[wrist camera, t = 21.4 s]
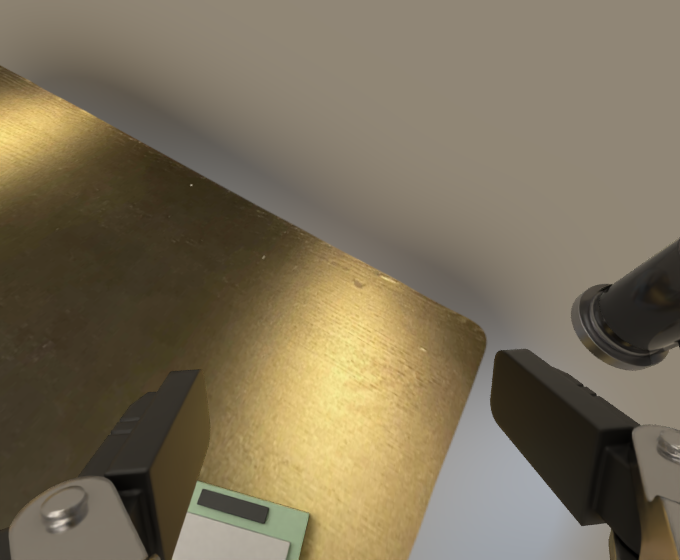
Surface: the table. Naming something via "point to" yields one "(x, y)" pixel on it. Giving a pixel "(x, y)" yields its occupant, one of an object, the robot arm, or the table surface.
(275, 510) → the scale
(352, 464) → the table surface
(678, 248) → the robot arm
